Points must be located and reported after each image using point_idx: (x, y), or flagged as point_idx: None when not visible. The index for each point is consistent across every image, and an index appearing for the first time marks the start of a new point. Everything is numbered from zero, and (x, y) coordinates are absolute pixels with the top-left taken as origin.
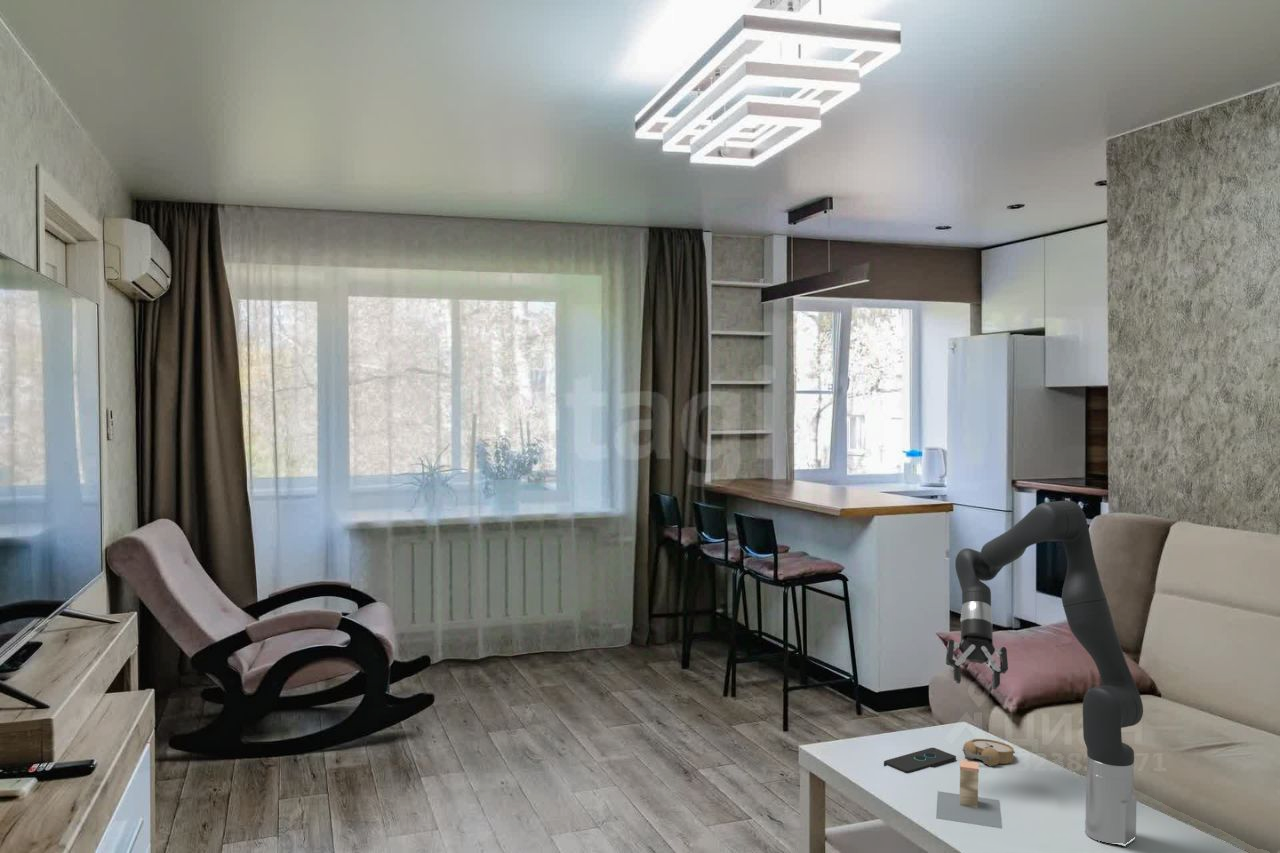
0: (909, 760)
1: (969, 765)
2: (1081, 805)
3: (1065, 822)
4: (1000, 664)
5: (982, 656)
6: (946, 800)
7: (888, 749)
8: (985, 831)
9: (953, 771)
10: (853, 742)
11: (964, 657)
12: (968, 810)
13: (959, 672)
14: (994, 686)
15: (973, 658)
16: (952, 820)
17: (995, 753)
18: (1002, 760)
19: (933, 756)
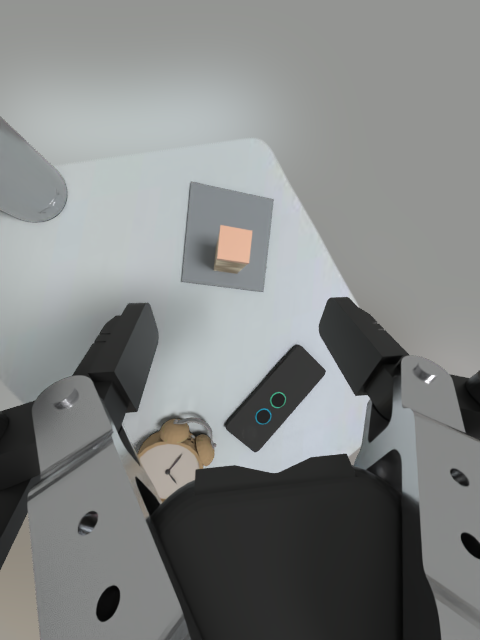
0: (292, 386)
1: (235, 239)
2: (53, 301)
3: (92, 229)
4: (3, 545)
5: (215, 545)
6: (255, 261)
7: (312, 432)
8: (213, 177)
9: (233, 379)
10: (354, 440)
11: (434, 424)
12: None
13: (363, 324)
14: (147, 304)
15: (324, 467)
16: (254, 195)
17: (166, 431)
18: (155, 435)
19: (259, 413)
